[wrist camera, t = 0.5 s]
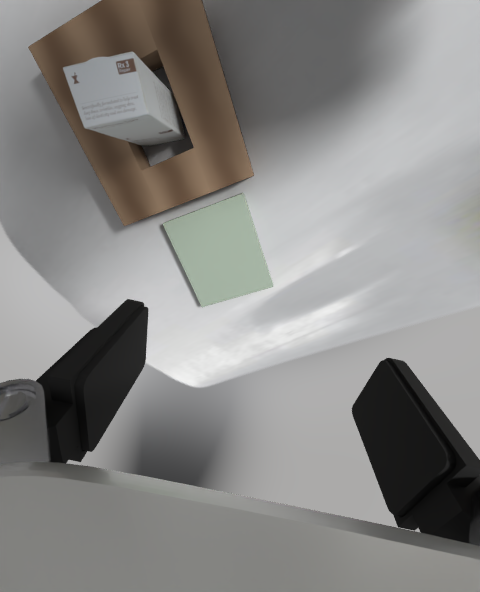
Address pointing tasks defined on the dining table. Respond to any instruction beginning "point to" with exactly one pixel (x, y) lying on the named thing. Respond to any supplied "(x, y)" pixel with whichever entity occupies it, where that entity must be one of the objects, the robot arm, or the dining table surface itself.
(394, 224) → the dining table surface
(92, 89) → the skincare box
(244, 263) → the mat
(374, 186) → the dining table surface
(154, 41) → the pocket block
